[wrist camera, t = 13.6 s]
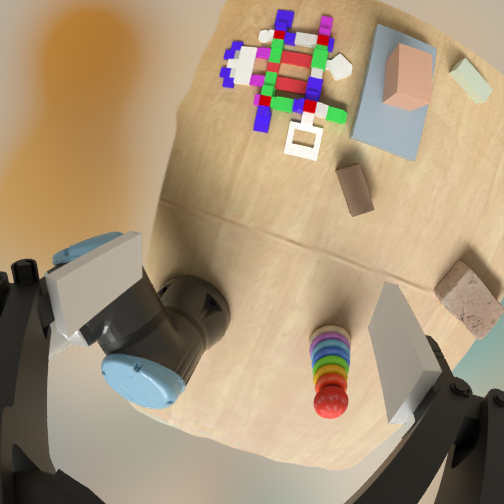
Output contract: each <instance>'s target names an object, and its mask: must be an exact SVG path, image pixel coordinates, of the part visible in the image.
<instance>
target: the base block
mask: <svg viewBox="0 0 504 504" xmlns="http://www.w3.org/2000/svg"><path fill="white" fill-rule="evenodd" d="M399 43H401V44H404V45H407V46H410V47H413V48H416V49H419V50H422V51H424V52H427V53H430V54H432V79H433V73H434V66H435V58H436V48H434V47H432V46H430V45H428V44H426V43H424V42H422V41H420V40H417V39H415V38H413V37H411V36H408V35H406V34H404V33H401V32H399V31H396V30H394V29H391V28H389V27H386V26H383V25H381V24H377V26H376V28H375V30H374V34H373V39H372V44H371V49H370V54H369V59H368V63H367V68H366V72H365V77H364V81H363V86H362V90H361V94H360V98H359V102H358V106H357V110H356V114H355V118H354V122H353V126H352V130H351V134H350V137H349V138H351V139H354V140H357V141H360V142H362V143H365V144H368V145H371V146H373V147H376V148H379V149H381V150H384V151H386V152H389V153H391V154H394V155H396V156H399V157H401V158H403V159H406V160H411V161H415V158H416V154H417V151H418V147H419V143H420V139H421V135H422V130H423V126H424V122H425V117H426V112H427V107H428V104H427V105H425V106H422V107H420V108H418V109H415V110H413V111H408V110H404V109H401V108H398V107H394V106H391V105H387V104H384V103H382V102H383V92H384V80H385V64H386V60H387V59H388V58H389V56H390V55H391V54H392V52H393V51H394V50H395V48H396V47H397V46H398V44H399Z"/></svg>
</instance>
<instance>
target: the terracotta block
mask: <svg viewBox="0 0 504 504" xmlns="http://www.w3.org/2000/svg"><path fill="white" fill-rule="evenodd" d="M431 90H432V54H430V53H427V52H424V51H422V50H419V49H416V48H413V47H410V46H407V45H404V44H401V43H399V44H398V46H397V47H396V48H395V50H394V51H393V52H392V54H391V55H390V56H389V58H388V59H387V60H386V64H385V80H384V92H383V102H382V103H384V104H387V105H391V106H394V107H398V108H401V109H404V110H408V111H413V110H415V109H418V108H420V107H422V106H425V105H427V104H429V103H431Z"/></svg>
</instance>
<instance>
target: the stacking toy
mask: <svg viewBox="0 0 504 504" xmlns="http://www.w3.org/2000/svg"><path fill="white" fill-rule="evenodd" d="M350 346H351V338H350V335H349V333H348V332H347V331H346V330H345V329H343V328H342V327H339V326H335V325H328V326H324V327H321V328H319V329H318V330H316V331H315V332H314V333H313V334H312V336H311V338H310V340H309V348H310V350H309V352H310V356H311V360H312V368H313V376H314V377H313V382H314V385H315V391H316V393H317V394H316V396H315V399H314V408H315V411H316V412H317V414H318V415H320V416H321V417H323V418H327V419H333V418H336V417H339V416H340V415H342V414H343V413H344V412H345V410H346V409H347V406H348V396H347V394H346V390H347V379H348V376H347V375H348V372H349V365H350Z"/></svg>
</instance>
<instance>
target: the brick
mask: <svg viewBox="0 0 504 504" xmlns="http://www.w3.org/2000/svg"><path fill="white" fill-rule="evenodd" d="M434 292H435V294H436V297H437V298H438V299H439V301H440V302H441V304H442V305H443V306H444V307H445V308H446V309H447V310H448V311H449V312H450V313H451V314H452V315H454V316H455V317H456V318H458V319H459V320H460V321H461V322H462V323H463V324H464V325H465V327H466V328H467V329H468V330H469V331H470V332H471V333H472V334H473V335H474V336H475V337H476V338H477V339H478V340H481V339H483V338H484V337H485V335H487V333H488V332H489V331H490V330H491V329H492V327H494V325H495V324H496V322H497V321H498V320H499V318H500V316H501V315H502V314H503V313H504V308H503V306H502V305H501V304H500V303H499V302H498V300H497V299H496V298H495V297H494V296H493V294H492V293H491V292H490V290H489V289H488V288H487V287H486V285H485V284H484V283H483V281H482V280H481V279H480V278H479V277H478V276H477V274H476V273H475V272H474V271H473V270H472V269H471V268H469V267H468V266H467V265H466V264H465V263H464V262H463V261H461V260H459V261H457V262H456V264H454V265H453V267H452V268H451V270H450V271H449V273H448V274H447V275H446V276H445V277H444V278H443V279H442V280H441V281H440V282H439V283H438V284H437V286H436V287H435V289H434Z"/></svg>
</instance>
